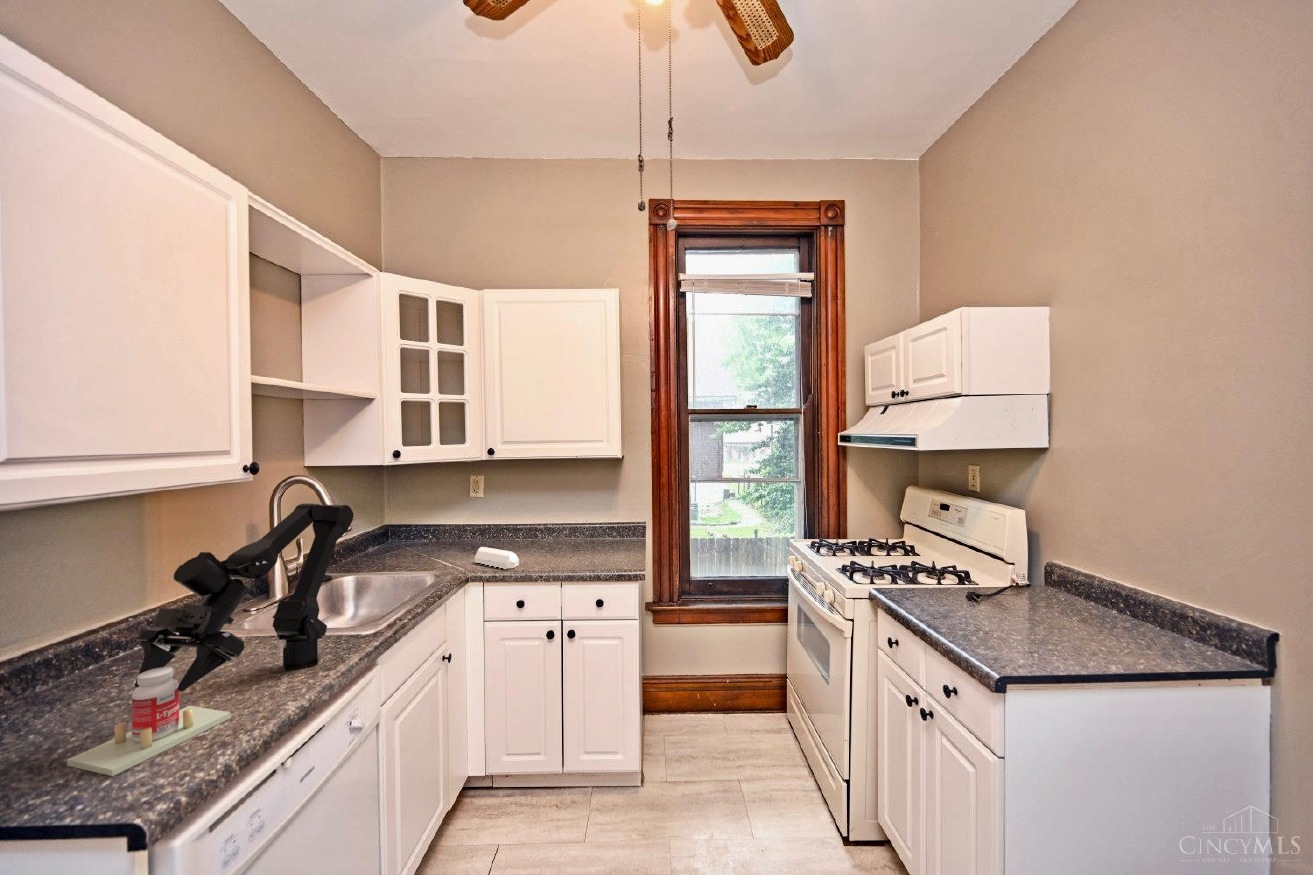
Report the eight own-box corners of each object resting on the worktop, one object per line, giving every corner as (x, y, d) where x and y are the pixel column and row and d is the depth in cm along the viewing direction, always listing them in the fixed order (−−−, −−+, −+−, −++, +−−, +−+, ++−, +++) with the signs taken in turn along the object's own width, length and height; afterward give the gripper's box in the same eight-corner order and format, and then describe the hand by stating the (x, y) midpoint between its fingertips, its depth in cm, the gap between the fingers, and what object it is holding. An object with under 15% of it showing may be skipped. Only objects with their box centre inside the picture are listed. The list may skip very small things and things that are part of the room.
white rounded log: (467, 555, 223) (504, 562, 209) (479, 544, 228) (516, 550, 214) (474, 569, 226) (511, 576, 212) (486, 557, 231) (523, 564, 218)
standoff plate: (189, 710, 104) (189, 690, 104) (230, 717, 101) (230, 696, 101) (67, 765, 87) (66, 741, 87) (112, 776, 84) (112, 751, 84)
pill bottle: (159, 742, 91) (158, 679, 91) (121, 744, 91) (120, 680, 91) (188, 723, 97) (187, 663, 97) (153, 725, 97) (152, 665, 97)
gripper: (146, 586, 101) (76, 668, 90) (229, 589, 98) (166, 674, 87) (190, 612, 109) (129, 691, 98) (267, 616, 106) (214, 698, 95)
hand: (158, 688), depth 94 cm, fingers open, 9 cm apart
